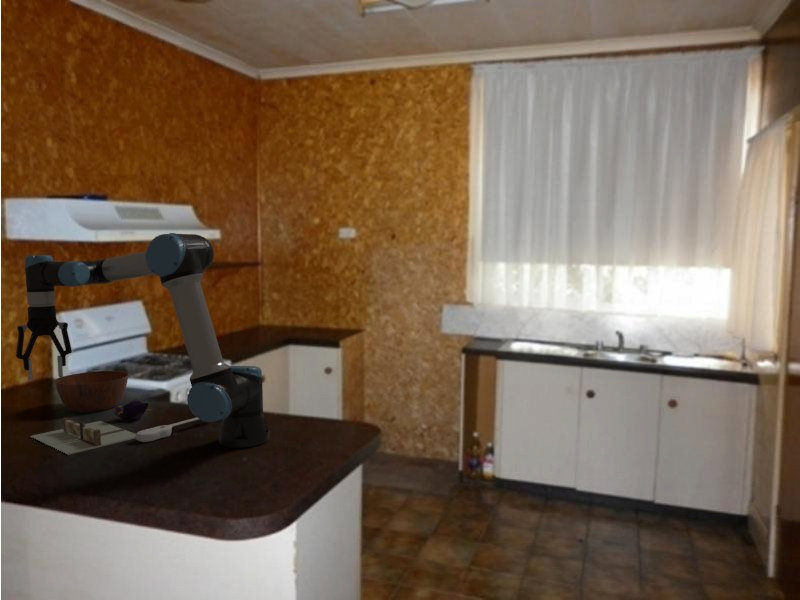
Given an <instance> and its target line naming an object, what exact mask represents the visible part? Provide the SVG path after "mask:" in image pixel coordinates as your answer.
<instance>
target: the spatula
mask: <svg viewBox="0 0 800 600" xmlns="http://www.w3.org/2000/svg"><path fill="white" fill-rule="evenodd" d="M199 420H200V419H199V418H197V417H193V418H190V419H186V420H182V421H178V422H176V423H175V422H174V423H171V424H165V425H158V426H155V427H151V428H147V429H142V430H139V431H137V432H136V433H135V434H136V438H135V440H137V441H138V442H140V443H148V442H153V441H157V440H160V439H163V438H168V437H170V436H171V435H172V429H173V427H176V426H180V425H184V424H187V423H191V422H195V421H199Z"/></svg>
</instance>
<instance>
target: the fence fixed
mask: <svg viewBox="0 0 800 600" xmlns="http://www.w3.org/2000/svg"><path fill="white" fill-rule="evenodd" d="M79 424H80V438H81V440H83V439H85V440H88V441H90V442H92V443H94V445H95V446H100V445H101V435H100V430H99V429H97V430H94V429H91V428H89V427H85V424H86V423H85V422H83V421H81V422H79Z"/></svg>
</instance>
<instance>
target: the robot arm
mask: <svg viewBox="0 0 800 600" xmlns="http://www.w3.org/2000/svg"><path fill="white" fill-rule="evenodd" d="M213 247H214V246H213V245H212V243H211V242H210V241H209V239H207V238H206V237H205V236H202V235H200V234H195V233H193V234H192V233H191V234H190V233H175V232H170V233H163V234H158V235H157V236H155V237H154V238H153V239H152V240H151V241H150V242H149V245H148V246H147V247H146V250H145V251H142V252H135V253H130V254H125V255H120V256H113V257H109V258H102V259H95V260H69V261H67V260H65V261H54V258H53V256H52V255H50V254H40V255H39V254H37V255H36V254H35V255H27V256H25V257H24V258H25V259H24V272H25V284H26V285H25V286H26V301H27V302H26V303H27V305H28V307H27V323H26V324H24V325H17V326H16V330H17V333H18V334H17V342H16V343H17V344H16V350H15V351H16V352H15V358H17V359H19V360H22V361H23V363H22V364H23V369H24V371H25V372H26V371H27V379H28V381H29V382H34V377H33V376H34V375H33V363H32V362H33V361H32V359H31V358H30V356H31V354H32V352H33V349H34V346H35V345H36V344H35V343H36V341H37V339H38V338H39V337H42V336H49V337H50V340H52V342H53V344H54V346H55V347H56V350H57V352H58V354H59V355H57V357H56V359H57V374H58V375H57V376H58V378H61V377H63V376H64V374H63V373H64V372H63V367H66V365H67V362H66V361H67V360H66V357H67V355H69V354H72V352H73V350H72V346H71V341H70V337H69V333H68V326H69V323H68V322H65V321H64V322H63V321H62V322H59V321H58V319H57V309H56V306H55V304H56V293H55V291H56V290H55V287H70V288H73V287H75V288H76V287H82V286H88V285H104V284H105V285H106V284H110V283H113V282H117V281H124V280H127V279H128V280H129V279H135V278H141V277H146V276H152V275H156V276H158V277H159V279H160V284H161V287H163V288H165V289H167V290H168V291H169V294H170V297H171V298H170V299H171V301H172V303H173V307H174V312H175V314H176V318H177V320H178V325H179V328H180V331H181V334H182V339H183V342H184V345H185V348H186V351H187V355H188V358H189V361H190V365H191V369H192V373H191V375H190V377H189V382H190V385H191V388H190V389H189V390H188V394H187V397H186V400H187V401H186V402H187V406H188V408H189V410H190V411H191V413H192V414H193V416H195V418H199V420H201V421H202V422H207V423H214V422H218V421H221V420H222V423H221V427H220V430H219V433H218V444H219V445H220V446H223V447H226V448H234V449H235V448H239V449H240V448H250V447H257V446H260V445H263V444H265V443H267V442H269V441H270V439H271V438H270V437H271V435H270V434H271V433H270V429H269V427H268V424H267V421H266V419H265V415H264V397H263V393H264V392H263V391H264V389H263V379H264V378H263V375H262V374H263V371H262V369H261V368H260V367H259V366H254V365H229V364H227V363H225V362H224V358H223V356H222V352H221V349H220V345H219V342H218V338H217V335H216V332H215V328H214V325H213V322H212V319H211V314H210V312H209V308H208V304H207V302H206V298H205V295H204V291H203V287H202V283H201V280H202V278H203V277H204V271H206V270H208V268H210V267H211V265H212V264H213V261H214V259H215V251H214V248H213ZM57 327H58V328H59V329H60V331H61V335H62V340H63V345H64V348H63V346H62V343H61V342H60V341H59V338H58V337H57V334H56V332H55V330H56V329H57ZM27 329H29V331H30V332H31V334H30V338H29V341H28V343H27V346H26V348H25V351H24V353H23V349H24V342H25V341H24V339H25V333H26V331H27ZM64 349H65V350H64Z"/></svg>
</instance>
